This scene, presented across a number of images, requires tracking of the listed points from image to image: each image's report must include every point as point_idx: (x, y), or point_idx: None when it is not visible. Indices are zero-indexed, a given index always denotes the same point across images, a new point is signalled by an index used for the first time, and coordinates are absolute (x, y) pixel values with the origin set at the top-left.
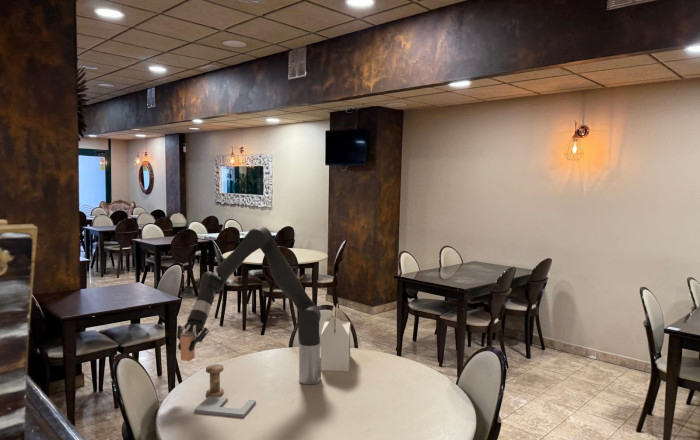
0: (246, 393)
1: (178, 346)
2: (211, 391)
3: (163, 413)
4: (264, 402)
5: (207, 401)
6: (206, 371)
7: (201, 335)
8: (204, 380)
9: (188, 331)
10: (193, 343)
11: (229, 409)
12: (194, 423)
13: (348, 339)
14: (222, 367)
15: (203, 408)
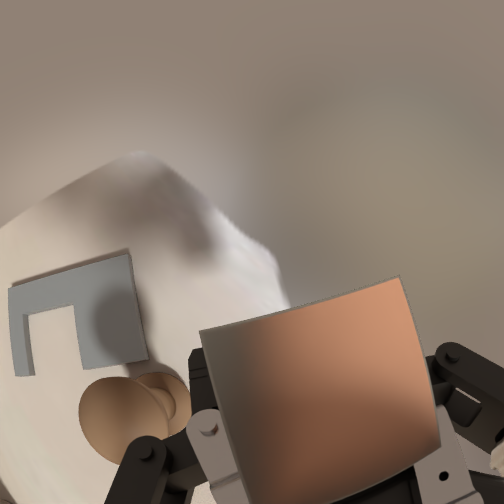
0: (74, 435)
1: None
2: (156, 387)
3: (216, 213)
4: (10, 387)
5: (123, 319)
6: (142, 384)
7: (114, 496)
8: None
9: (389, 477)
10: (198, 395)
11: (42, 298)
12: (98, 212)
13: None
14: (86, 433)
15: (106, 272)
